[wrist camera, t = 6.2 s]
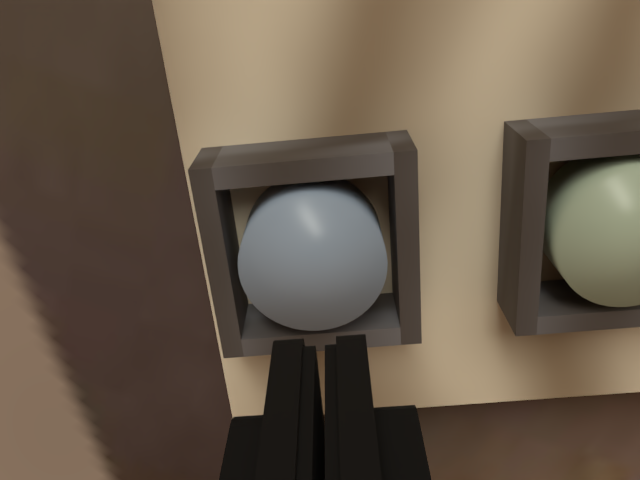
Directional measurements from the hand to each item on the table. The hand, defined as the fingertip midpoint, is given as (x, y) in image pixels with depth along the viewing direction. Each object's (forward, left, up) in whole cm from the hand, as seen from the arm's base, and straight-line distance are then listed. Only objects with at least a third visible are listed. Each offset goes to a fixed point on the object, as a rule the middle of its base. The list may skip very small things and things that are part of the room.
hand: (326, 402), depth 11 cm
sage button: (-8, 0, -7) cm, 11 cm away
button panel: (-8, 0, -10) cm, 13 cm away
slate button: (0, 0, -7) cm, 8 cm away
